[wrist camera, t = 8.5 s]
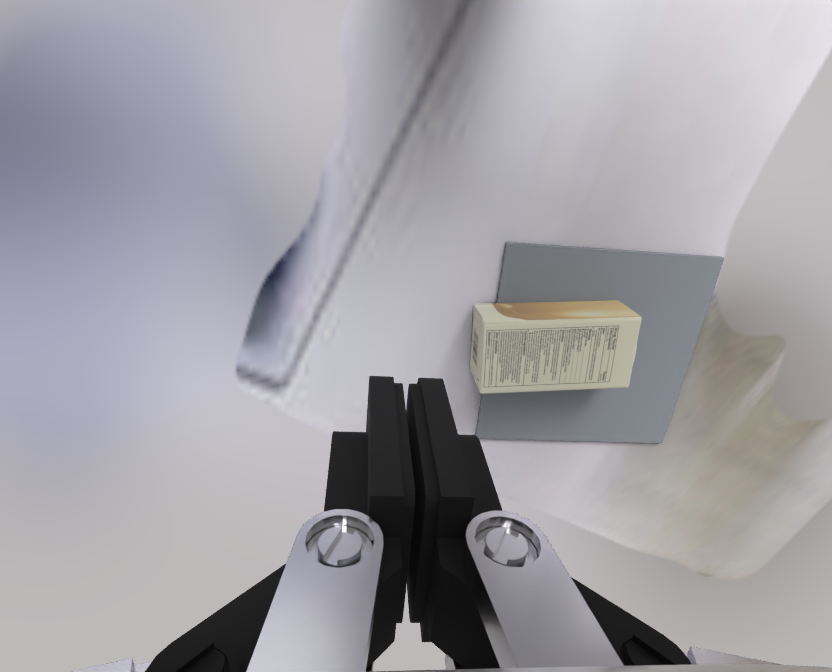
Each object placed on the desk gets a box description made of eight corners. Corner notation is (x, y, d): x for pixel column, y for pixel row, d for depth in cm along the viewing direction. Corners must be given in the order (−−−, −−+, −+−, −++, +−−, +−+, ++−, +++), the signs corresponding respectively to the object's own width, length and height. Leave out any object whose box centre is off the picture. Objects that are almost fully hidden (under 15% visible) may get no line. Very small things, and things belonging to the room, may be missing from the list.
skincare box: (467, 370, 44) (606, 367, 45) (477, 395, 40) (629, 392, 41) (472, 298, 42) (619, 297, 43) (484, 318, 38) (645, 317, 39)
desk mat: (506, 242, 40) (507, 243, 40) (721, 256, 42) (724, 258, 42) (475, 435, 48) (476, 438, 47) (660, 440, 50) (662, 443, 49)
